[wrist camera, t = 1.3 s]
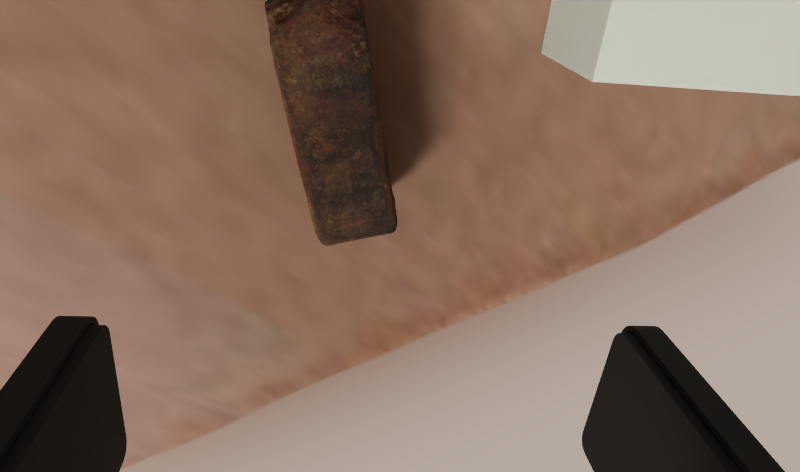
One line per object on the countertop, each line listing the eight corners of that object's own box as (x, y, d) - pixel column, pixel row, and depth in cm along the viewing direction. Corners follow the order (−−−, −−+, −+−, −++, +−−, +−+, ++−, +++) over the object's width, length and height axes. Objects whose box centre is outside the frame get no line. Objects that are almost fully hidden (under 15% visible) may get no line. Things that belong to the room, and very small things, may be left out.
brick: (391, 194, 30) (402, 235, 26) (318, 208, 30) (317, 250, 26) (356, -21, 25) (363, -13, 21) (268, -6, 25) (257, 5, 21)
